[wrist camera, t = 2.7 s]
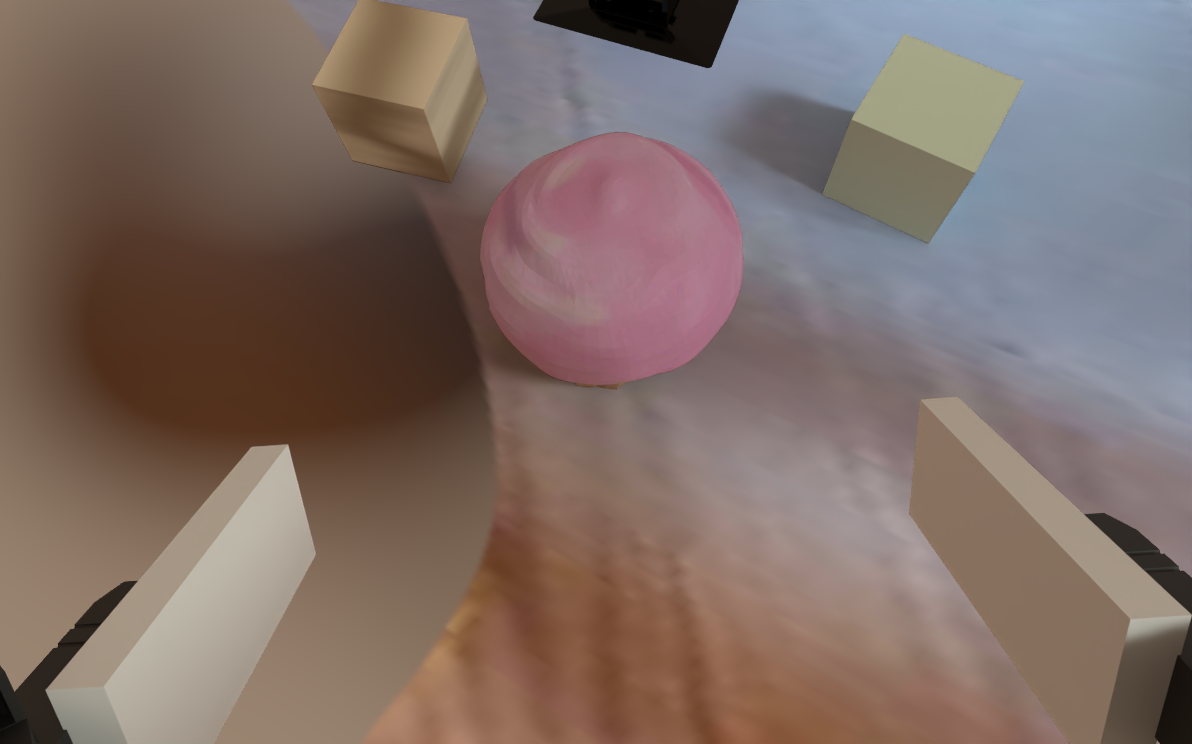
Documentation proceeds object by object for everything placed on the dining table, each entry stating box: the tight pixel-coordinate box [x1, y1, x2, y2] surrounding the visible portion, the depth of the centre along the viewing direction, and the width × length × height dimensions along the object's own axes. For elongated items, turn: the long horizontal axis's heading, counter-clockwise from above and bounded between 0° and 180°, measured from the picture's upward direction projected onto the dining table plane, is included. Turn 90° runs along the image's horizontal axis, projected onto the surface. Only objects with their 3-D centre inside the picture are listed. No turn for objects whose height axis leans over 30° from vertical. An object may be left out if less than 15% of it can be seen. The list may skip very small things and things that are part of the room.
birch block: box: [312, 0, 487, 183], centre depth 35 cm, size 5×5×5 cm
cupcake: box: [480, 132, 744, 389], centre depth 28 cm, size 9×9×10 cm
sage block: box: [822, 34, 1024, 243], centre depth 32 cm, size 5×5×5 cm
